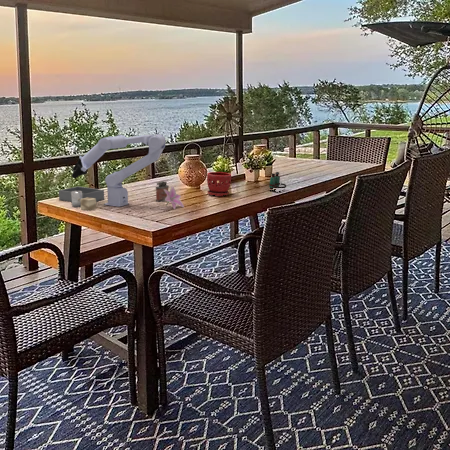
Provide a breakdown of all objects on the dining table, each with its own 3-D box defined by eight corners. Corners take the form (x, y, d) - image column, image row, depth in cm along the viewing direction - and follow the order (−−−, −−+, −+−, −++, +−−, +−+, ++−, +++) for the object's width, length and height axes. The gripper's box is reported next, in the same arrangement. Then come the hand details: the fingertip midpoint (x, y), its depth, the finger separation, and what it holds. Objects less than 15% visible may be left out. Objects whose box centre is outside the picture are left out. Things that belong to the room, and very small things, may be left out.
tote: (104, 199, 264) (103, 189, 263) (85, 204, 253) (85, 194, 252) (78, 195, 272) (78, 186, 271) (59, 200, 261) (58, 190, 260)
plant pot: (217, 198, 273) (217, 175, 270) (202, 194, 282) (202, 172, 279) (235, 195, 281) (236, 173, 278) (220, 191, 290) (220, 170, 287)
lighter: (165, 199, 269) (165, 180, 266) (170, 199, 267) (170, 180, 264) (154, 201, 263) (154, 181, 260) (159, 202, 261) (158, 182, 258)
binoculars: (283, 176, 286) (267, 172, 291) (280, 194, 289) (265, 190, 294) (291, 174, 293) (275, 171, 298) (288, 192, 296) (273, 188, 301)
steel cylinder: (85, 205, 250) (84, 191, 248) (77, 207, 246) (76, 193, 244) (77, 204, 252) (76, 190, 251) (69, 206, 248) (68, 191, 246)
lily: (160, 212, 244) (169, 196, 240) (153, 198, 252) (161, 182, 248) (181, 217, 251) (190, 201, 247) (173, 203, 259) (182, 188, 255)
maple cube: (96, 208, 244) (95, 198, 243) (88, 210, 240) (88, 200, 239) (88, 207, 247) (87, 197, 245) (80, 209, 242) (80, 199, 241)
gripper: (87, 144, 253) (68, 162, 257) (85, 156, 241) (65, 175, 245) (98, 153, 257) (79, 171, 260) (96, 166, 245) (77, 184, 248)
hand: (73, 173), depth 253 cm, fingers open, 7 cm apart
